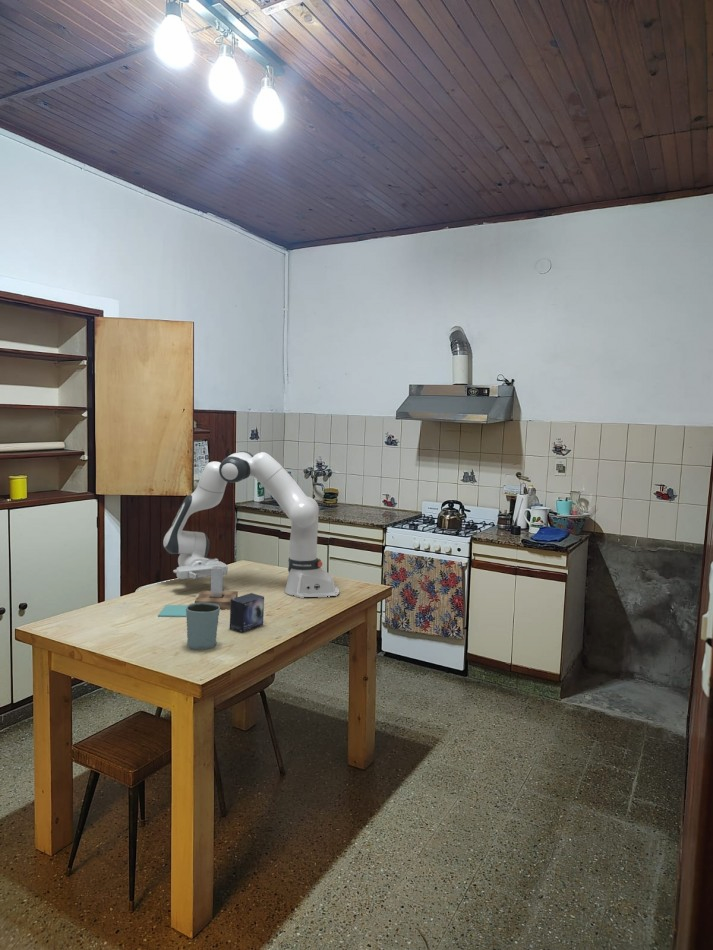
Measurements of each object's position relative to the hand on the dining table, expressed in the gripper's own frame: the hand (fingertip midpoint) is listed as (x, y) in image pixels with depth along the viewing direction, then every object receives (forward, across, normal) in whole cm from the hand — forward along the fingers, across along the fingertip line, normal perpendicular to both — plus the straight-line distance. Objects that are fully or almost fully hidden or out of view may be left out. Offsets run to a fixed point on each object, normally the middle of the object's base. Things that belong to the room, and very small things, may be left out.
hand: (208, 575), depth 240 cm
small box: (+40, 0, +9) cm, 41 cm away
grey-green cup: (+49, -18, +9) cm, 53 cm away
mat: (+14, -15, +8) cm, 22 cm away
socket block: (+11, 0, +8) cm, 14 cm away
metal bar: (+11, 0, +8) cm, 14 cm away
